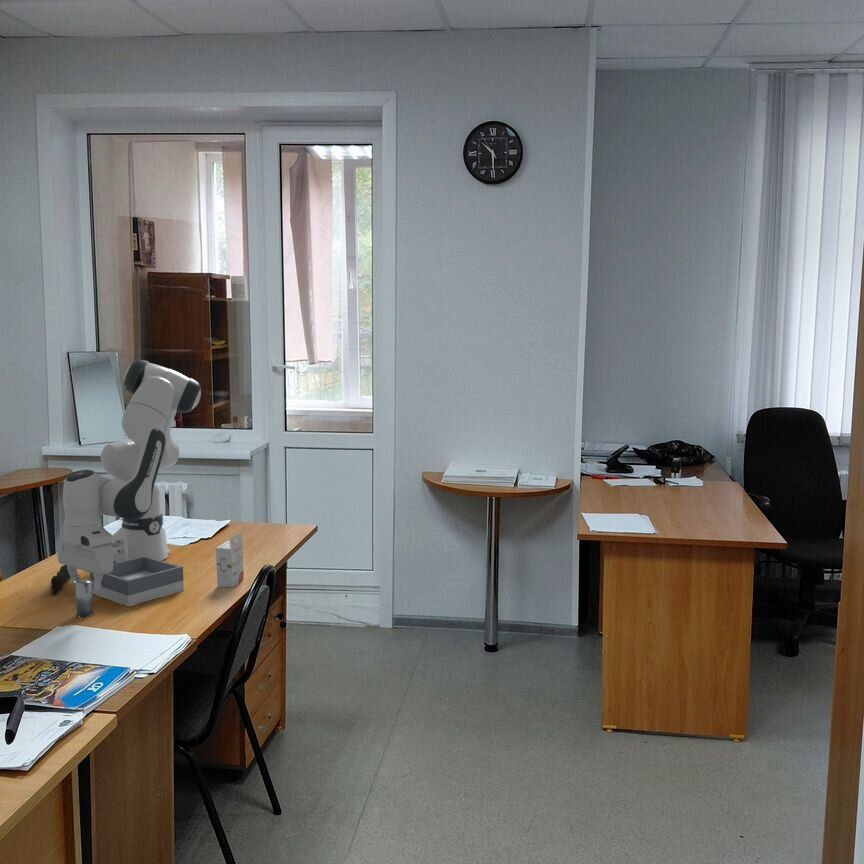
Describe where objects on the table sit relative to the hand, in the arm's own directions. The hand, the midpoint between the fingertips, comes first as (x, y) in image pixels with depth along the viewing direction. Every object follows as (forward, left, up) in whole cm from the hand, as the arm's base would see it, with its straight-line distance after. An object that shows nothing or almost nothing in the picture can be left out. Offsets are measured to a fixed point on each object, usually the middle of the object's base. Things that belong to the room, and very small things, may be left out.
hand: (85, 585), depth 235 cm
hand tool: (-28, +10, -9) cm, 31 cm away
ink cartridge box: (+7, +42, -8) cm, 43 cm away
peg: (-1, 0, -8) cm, 8 cm away
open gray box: (-7, +20, -8) cm, 22 cm away
